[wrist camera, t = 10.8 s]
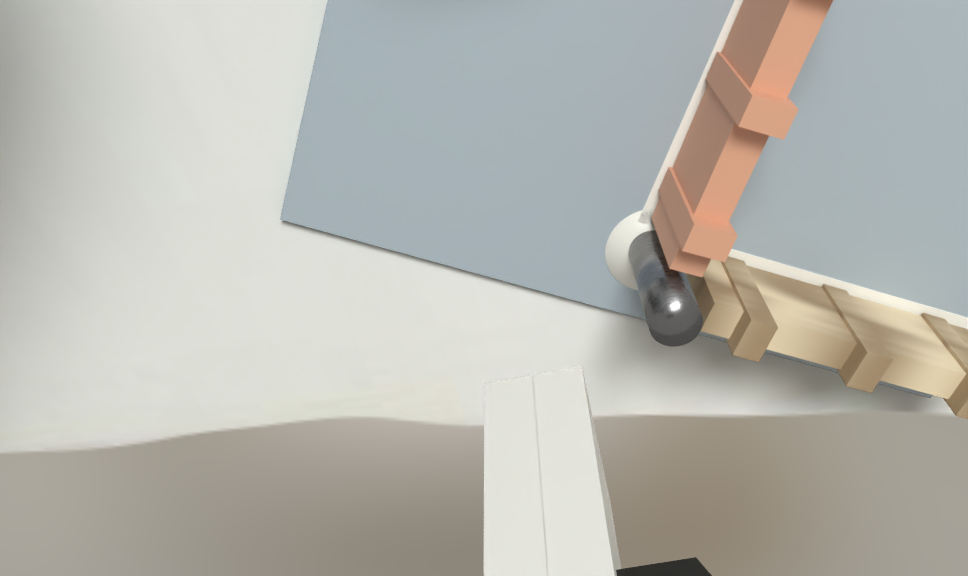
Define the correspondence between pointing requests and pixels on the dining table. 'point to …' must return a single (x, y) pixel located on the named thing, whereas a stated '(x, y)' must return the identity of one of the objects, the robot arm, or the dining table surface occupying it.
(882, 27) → the card
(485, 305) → the dining table surface
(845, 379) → the fixed panel
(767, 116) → the swing panel
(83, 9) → the dining table surface
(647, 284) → the hinge post
